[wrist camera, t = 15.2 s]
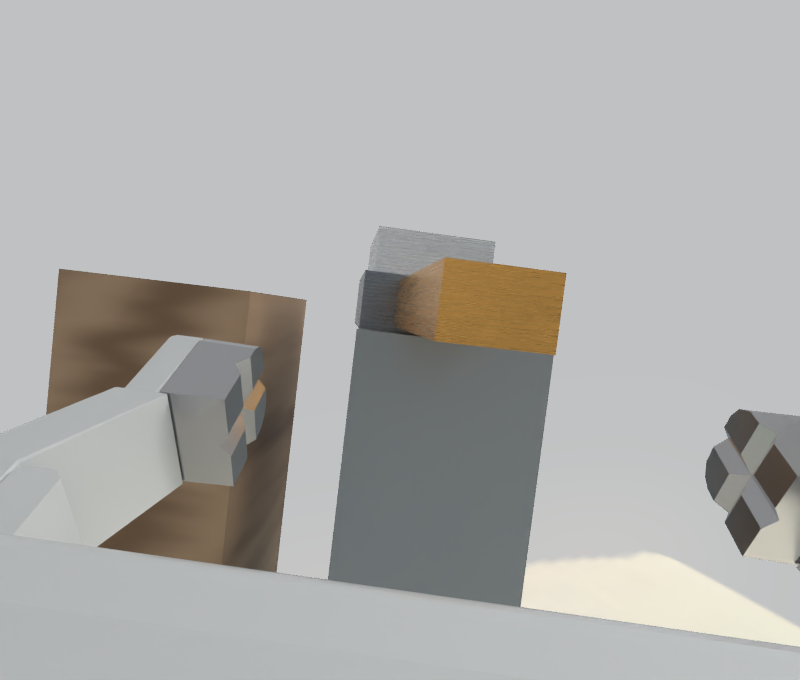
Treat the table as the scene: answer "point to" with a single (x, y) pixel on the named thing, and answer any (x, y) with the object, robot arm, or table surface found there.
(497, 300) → the wood and grey block
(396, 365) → the grey stand
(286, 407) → the walnut stand
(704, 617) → the table surface
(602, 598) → the table surface
